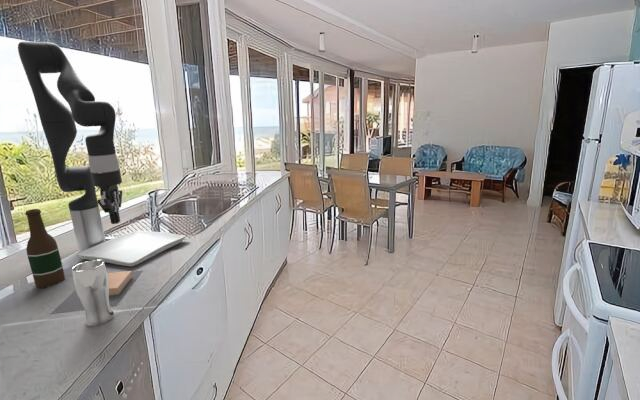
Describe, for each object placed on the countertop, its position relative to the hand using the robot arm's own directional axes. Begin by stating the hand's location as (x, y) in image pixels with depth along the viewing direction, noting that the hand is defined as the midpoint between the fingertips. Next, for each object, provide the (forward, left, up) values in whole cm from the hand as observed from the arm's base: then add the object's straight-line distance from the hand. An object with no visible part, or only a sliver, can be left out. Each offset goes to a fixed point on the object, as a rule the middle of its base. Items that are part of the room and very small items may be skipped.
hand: (115, 223), depth 105 cm
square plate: (-20, -3, -18) cm, 27 cm away
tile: (+5, 0, -16) cm, 17 cm away
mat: (+11, -2, -18) cm, 21 cm away
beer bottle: (+1, -21, -18) cm, 28 cm away
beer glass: (+27, +4, -18) cm, 33 cm away
